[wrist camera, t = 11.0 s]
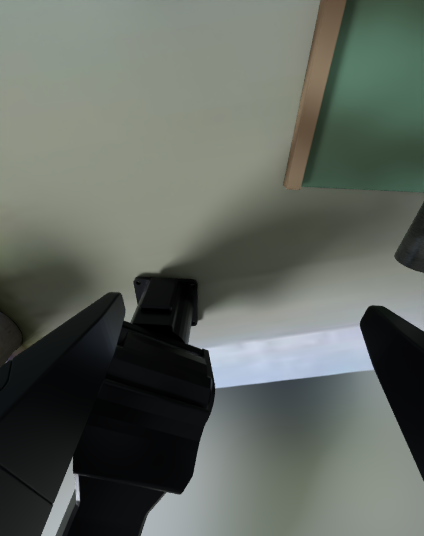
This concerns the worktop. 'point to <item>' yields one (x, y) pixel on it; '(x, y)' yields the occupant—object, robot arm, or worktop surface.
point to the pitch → (362, 99)
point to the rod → (413, 244)
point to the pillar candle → (8, 338)
